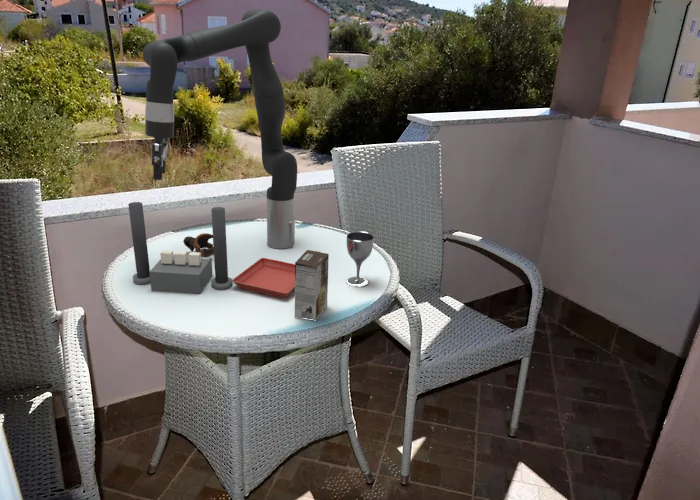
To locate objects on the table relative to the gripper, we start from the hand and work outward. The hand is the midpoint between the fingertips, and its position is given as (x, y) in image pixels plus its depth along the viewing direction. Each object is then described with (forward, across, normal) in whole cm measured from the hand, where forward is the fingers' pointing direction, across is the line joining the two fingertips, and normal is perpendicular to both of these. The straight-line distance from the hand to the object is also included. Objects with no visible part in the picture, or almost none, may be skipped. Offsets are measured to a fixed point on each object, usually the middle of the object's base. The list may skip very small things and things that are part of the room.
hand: (159, 176), depth 149 cm
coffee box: (+27, -31, -42) cm, 59 cm away
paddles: (+22, -10, -7) cm, 25 cm away
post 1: (+30, -7, +3) cm, 31 cm away
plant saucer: (+27, -12, -34) cm, 45 cm away
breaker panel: (+29, -10, -8) cm, 32 cm away
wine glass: (+25, -15, -59) cm, 66 cm away
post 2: (+28, -13, -19) cm, 36 cm away
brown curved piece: (+28, +11, -12) cm, 33 cm away
